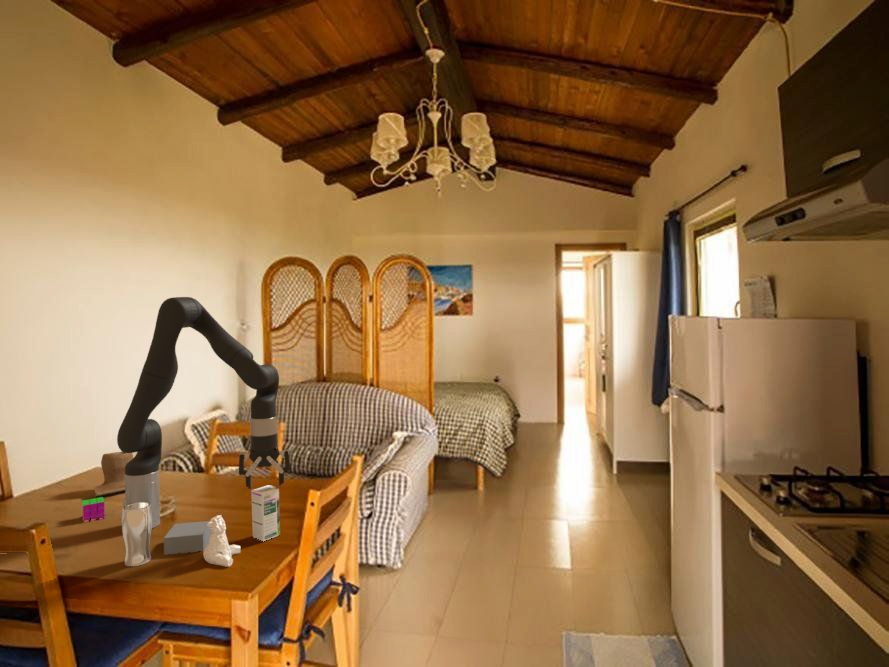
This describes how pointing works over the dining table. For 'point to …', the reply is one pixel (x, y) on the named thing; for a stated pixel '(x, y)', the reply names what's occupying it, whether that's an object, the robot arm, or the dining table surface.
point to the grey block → (187, 538)
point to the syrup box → (265, 512)
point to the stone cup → (113, 473)
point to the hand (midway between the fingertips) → (265, 486)
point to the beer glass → (137, 532)
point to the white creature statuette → (219, 544)
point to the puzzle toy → (93, 508)
